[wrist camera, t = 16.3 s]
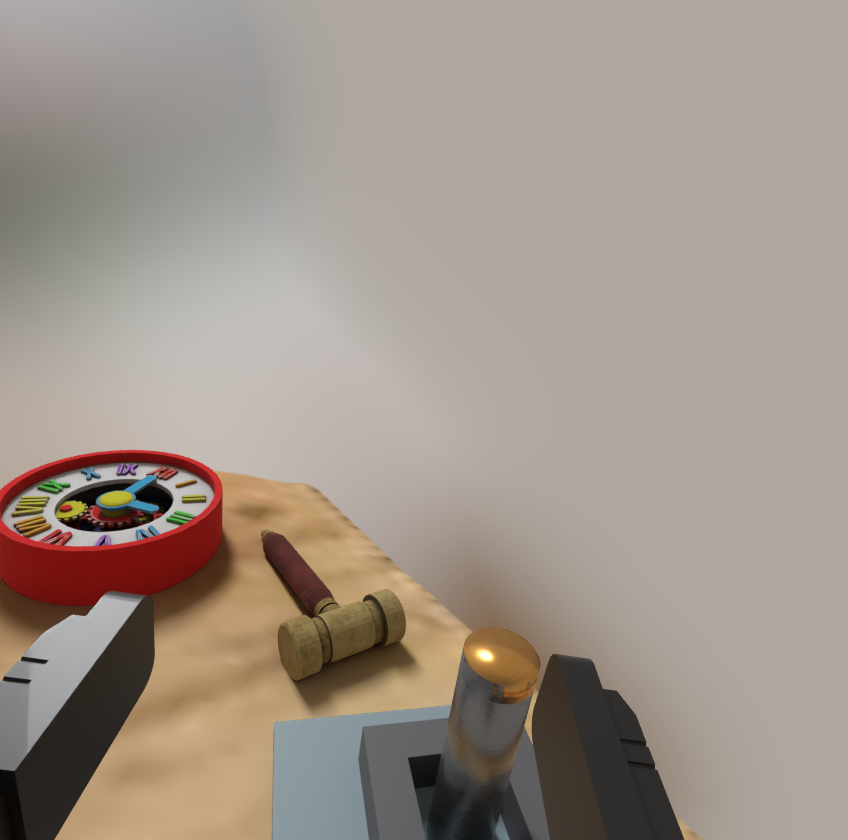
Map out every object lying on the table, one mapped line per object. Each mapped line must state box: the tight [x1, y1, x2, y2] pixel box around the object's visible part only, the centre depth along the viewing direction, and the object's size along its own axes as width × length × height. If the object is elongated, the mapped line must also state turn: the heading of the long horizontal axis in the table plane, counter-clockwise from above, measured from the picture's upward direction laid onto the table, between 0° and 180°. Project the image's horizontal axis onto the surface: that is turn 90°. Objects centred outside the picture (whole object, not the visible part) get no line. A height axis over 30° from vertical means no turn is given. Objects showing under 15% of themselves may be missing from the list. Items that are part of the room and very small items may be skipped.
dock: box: [272, 705, 550, 840], centre depth 33 cm, size 18×18×4 cm
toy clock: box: [0, 450, 222, 606], centre depth 56 cm, size 20×6×20 cm
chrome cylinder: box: [426, 627, 540, 840], centre depth 31 cm, size 4×4×14 cm
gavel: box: [261, 529, 406, 681], centre depth 53 cm, size 21×5×10 cm
